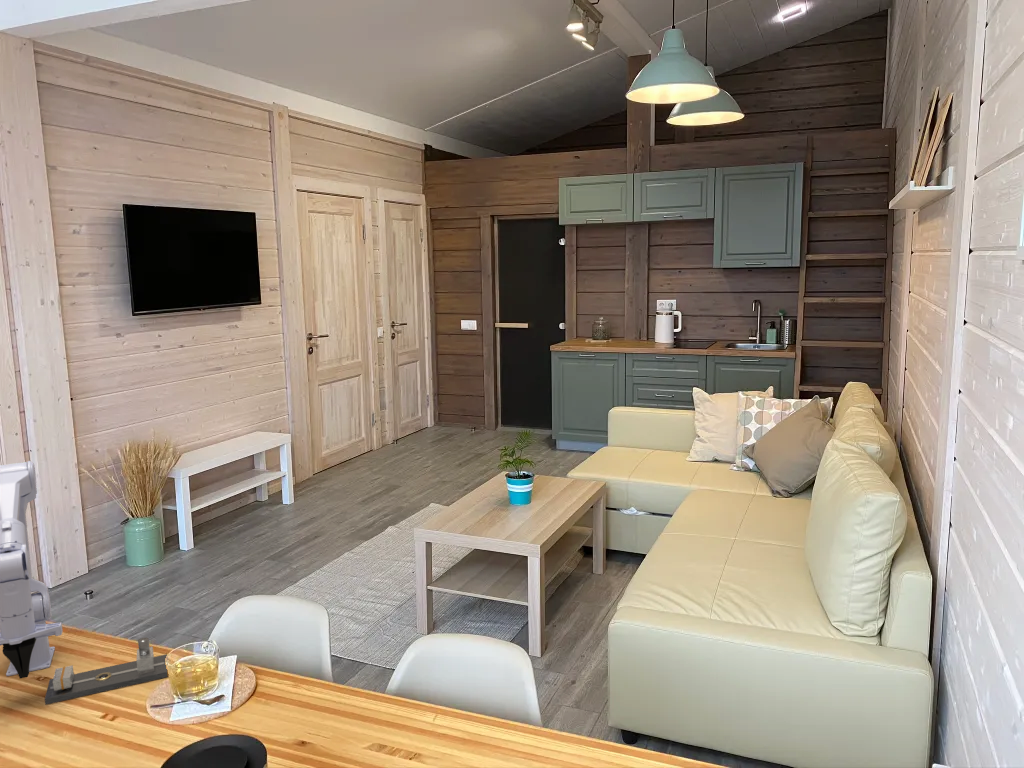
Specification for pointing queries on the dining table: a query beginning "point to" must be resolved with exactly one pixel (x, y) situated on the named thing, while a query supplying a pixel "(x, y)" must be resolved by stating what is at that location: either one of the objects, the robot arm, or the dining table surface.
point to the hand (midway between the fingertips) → (24, 675)
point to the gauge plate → (113, 676)
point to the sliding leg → (63, 678)
